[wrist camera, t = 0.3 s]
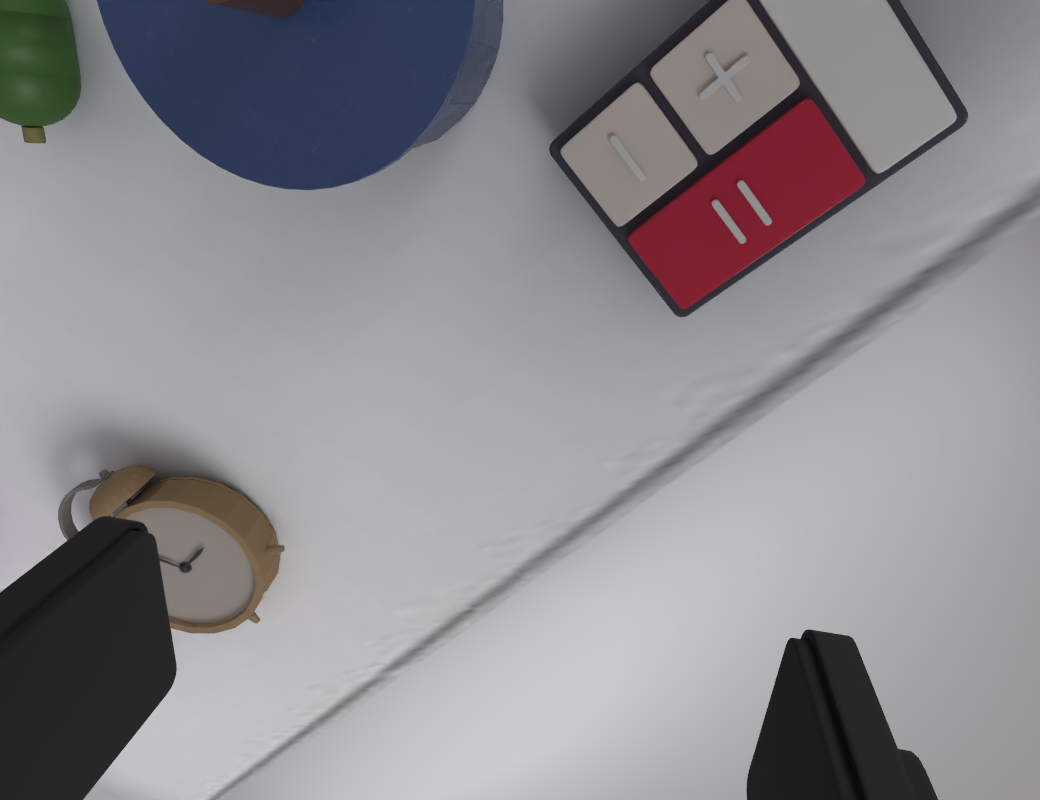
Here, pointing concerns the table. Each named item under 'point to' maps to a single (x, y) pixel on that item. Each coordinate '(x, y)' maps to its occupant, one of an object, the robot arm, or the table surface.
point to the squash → (37, 65)
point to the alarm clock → (193, 543)
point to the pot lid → (295, 79)
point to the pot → (472, 68)
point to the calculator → (754, 134)
